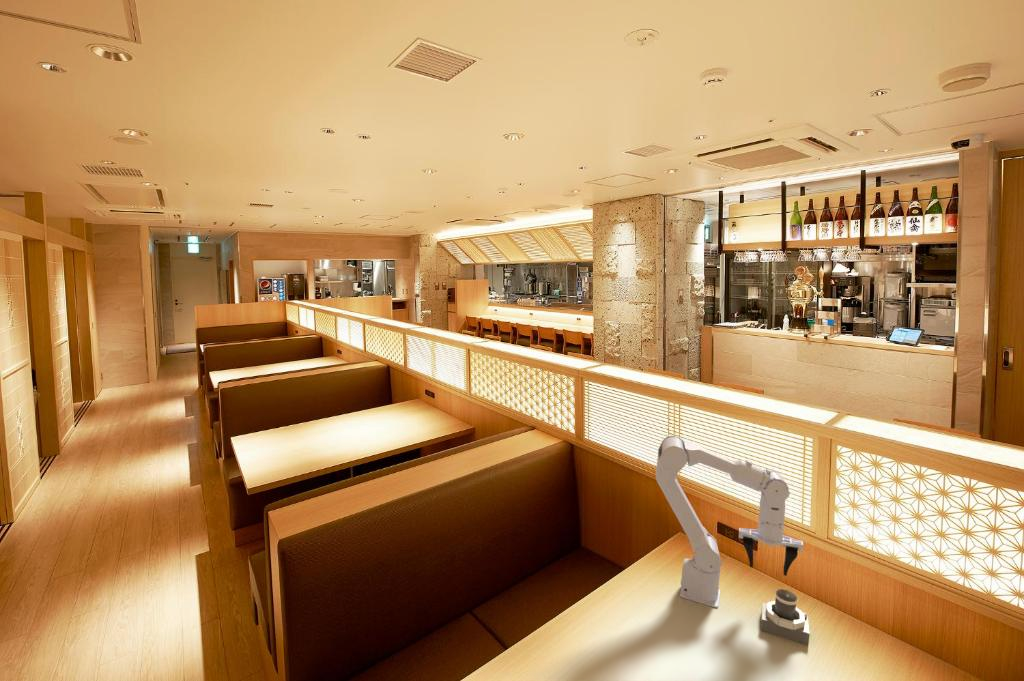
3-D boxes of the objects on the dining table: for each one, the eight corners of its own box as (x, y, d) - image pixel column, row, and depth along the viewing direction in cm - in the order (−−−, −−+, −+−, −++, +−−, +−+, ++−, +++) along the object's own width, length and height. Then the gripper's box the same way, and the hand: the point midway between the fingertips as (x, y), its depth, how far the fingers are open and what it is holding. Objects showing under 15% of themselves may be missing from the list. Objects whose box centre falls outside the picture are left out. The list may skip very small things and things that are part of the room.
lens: (768, 612, 122) (771, 590, 121) (783, 609, 123) (786, 587, 123) (783, 625, 118) (786, 602, 117) (799, 622, 119) (801, 599, 118)
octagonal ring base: (760, 631, 120) (762, 614, 119) (761, 612, 127) (762, 596, 126) (808, 646, 115) (810, 629, 115) (806, 625, 122) (808, 608, 122)
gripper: (739, 520, 126) (736, 569, 128) (805, 533, 119) (801, 585, 121) (740, 508, 132) (738, 556, 134) (803, 521, 125) (799, 570, 127)
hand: (768, 569), depth 128 cm, fingers open, 7 cm apart
